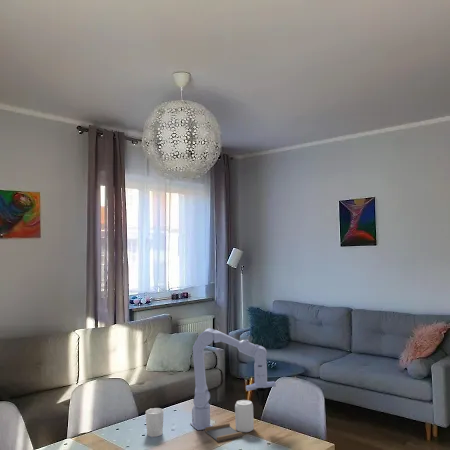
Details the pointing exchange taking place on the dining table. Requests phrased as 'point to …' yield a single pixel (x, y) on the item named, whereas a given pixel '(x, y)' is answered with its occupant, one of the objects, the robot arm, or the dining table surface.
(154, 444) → the dining table surface
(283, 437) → the dining table surface
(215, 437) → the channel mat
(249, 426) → the beverage can
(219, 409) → the dining table surface
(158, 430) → the white cup
